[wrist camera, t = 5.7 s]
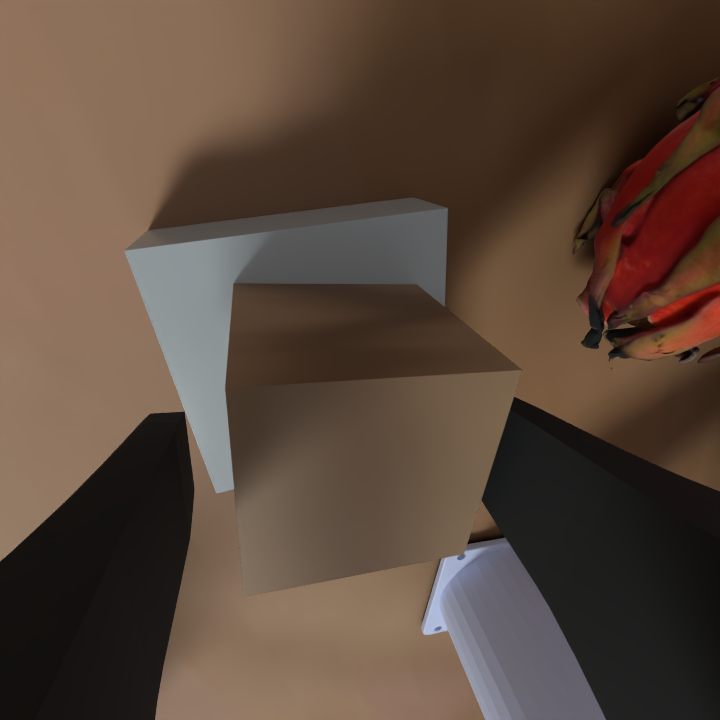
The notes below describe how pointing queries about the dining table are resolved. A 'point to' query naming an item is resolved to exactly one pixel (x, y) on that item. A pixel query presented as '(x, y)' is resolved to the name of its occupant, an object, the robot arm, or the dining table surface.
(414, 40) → the dining table surface
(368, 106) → the dining table surface
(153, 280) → the grey flat square block
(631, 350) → the dragon fruit
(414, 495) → the walnut cube
